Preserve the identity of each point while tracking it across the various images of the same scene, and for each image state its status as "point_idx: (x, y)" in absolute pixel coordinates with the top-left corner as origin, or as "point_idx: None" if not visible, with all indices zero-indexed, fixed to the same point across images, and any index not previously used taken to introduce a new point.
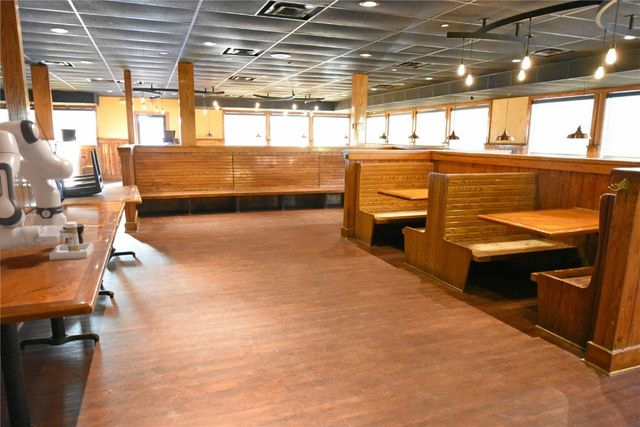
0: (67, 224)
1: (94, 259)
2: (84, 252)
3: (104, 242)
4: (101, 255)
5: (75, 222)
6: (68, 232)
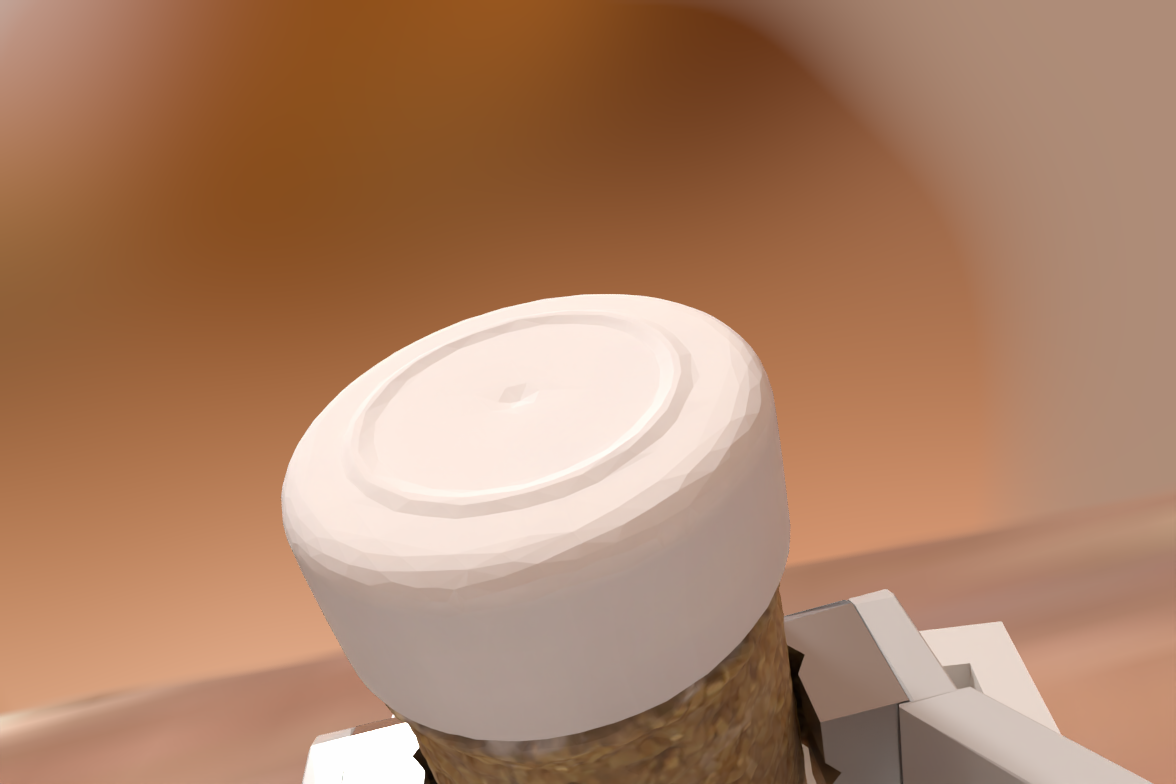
0: (772, 425)
1: (1055, 598)
2: (1015, 667)
3: (64, 737)
4: (818, 581)
5: (552, 299)
6: (786, 711)
